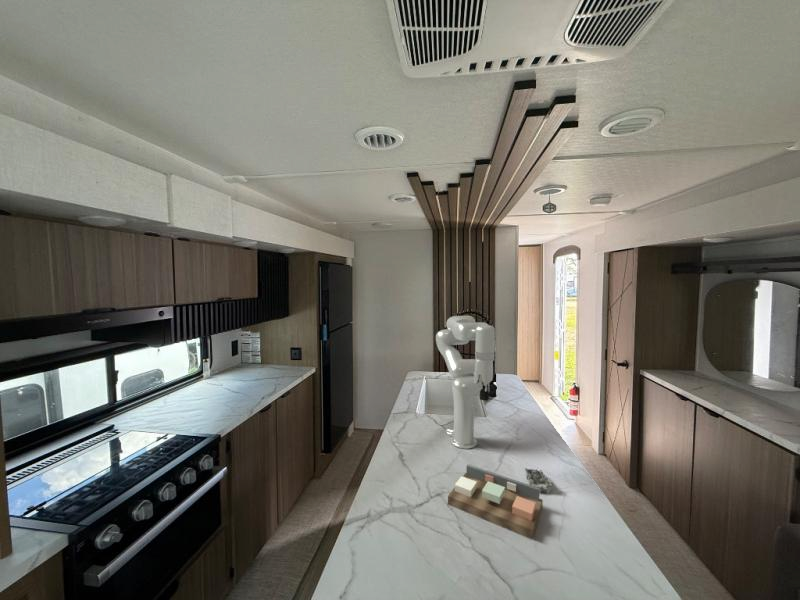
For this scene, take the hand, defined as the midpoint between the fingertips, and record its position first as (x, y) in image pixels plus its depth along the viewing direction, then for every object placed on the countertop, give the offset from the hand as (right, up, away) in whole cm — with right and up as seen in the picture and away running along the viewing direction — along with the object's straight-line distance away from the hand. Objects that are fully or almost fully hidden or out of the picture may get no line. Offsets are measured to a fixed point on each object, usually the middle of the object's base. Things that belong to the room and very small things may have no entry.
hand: (484, 399), depth 133 cm
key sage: (-3, -26, -22) cm, 34 cm away
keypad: (-2, -31, -21) cm, 37 cm away
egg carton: (+18, -30, -9) cm, 36 cm away
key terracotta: (+6, -28, -28) cm, 40 cm away
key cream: (-11, -27, -17) cm, 34 cm away
